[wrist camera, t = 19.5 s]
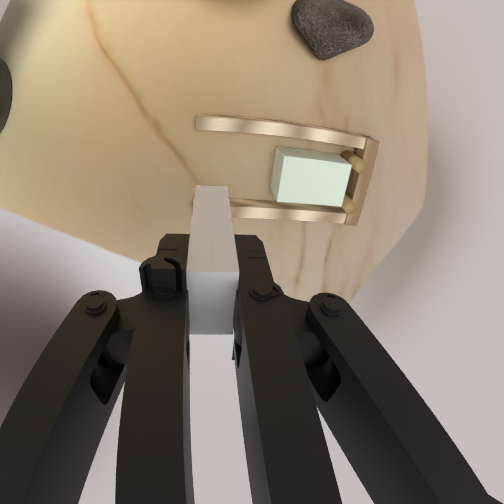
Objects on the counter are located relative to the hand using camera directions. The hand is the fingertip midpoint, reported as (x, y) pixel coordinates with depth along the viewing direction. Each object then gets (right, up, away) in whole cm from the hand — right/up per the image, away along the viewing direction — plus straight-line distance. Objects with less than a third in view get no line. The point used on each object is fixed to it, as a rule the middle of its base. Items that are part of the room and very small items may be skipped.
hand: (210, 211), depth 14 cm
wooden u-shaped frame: (+6, +9, +24) cm, 27 cm away
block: (+9, +9, +25) cm, 28 cm away
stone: (+11, +27, +13) cm, 32 cm away
